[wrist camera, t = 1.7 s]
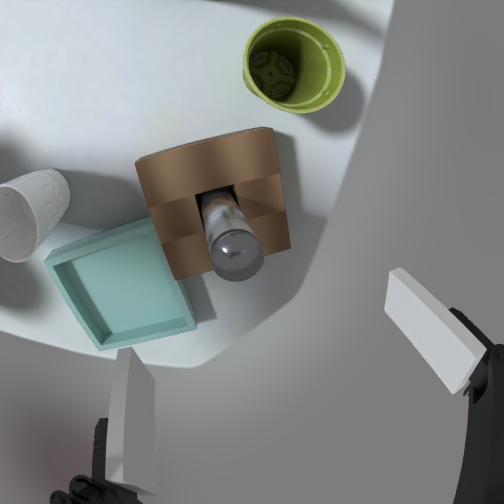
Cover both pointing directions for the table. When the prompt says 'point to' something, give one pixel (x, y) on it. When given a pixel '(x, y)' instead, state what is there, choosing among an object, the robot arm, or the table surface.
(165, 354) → the table surface
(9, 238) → the white cup
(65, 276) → the tray
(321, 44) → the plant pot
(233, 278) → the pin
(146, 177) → the socket block
